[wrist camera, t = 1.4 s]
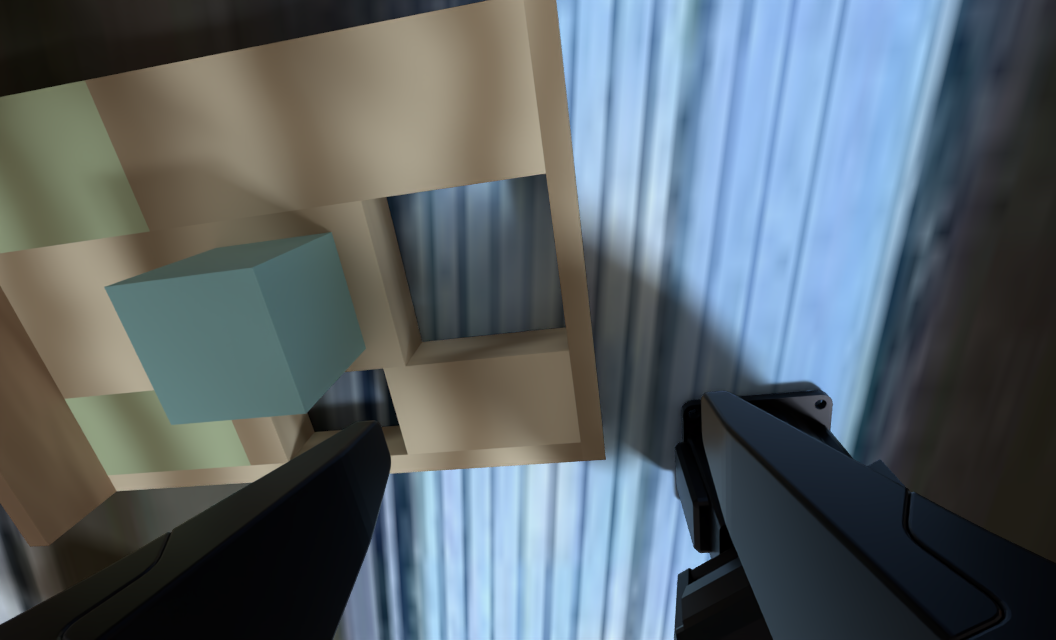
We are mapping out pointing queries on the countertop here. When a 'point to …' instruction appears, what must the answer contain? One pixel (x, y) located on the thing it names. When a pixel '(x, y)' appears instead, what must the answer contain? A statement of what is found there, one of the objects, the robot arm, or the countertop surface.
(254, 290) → the block
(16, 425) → the trap board
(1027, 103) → the countertop surface
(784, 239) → the countertop surface
